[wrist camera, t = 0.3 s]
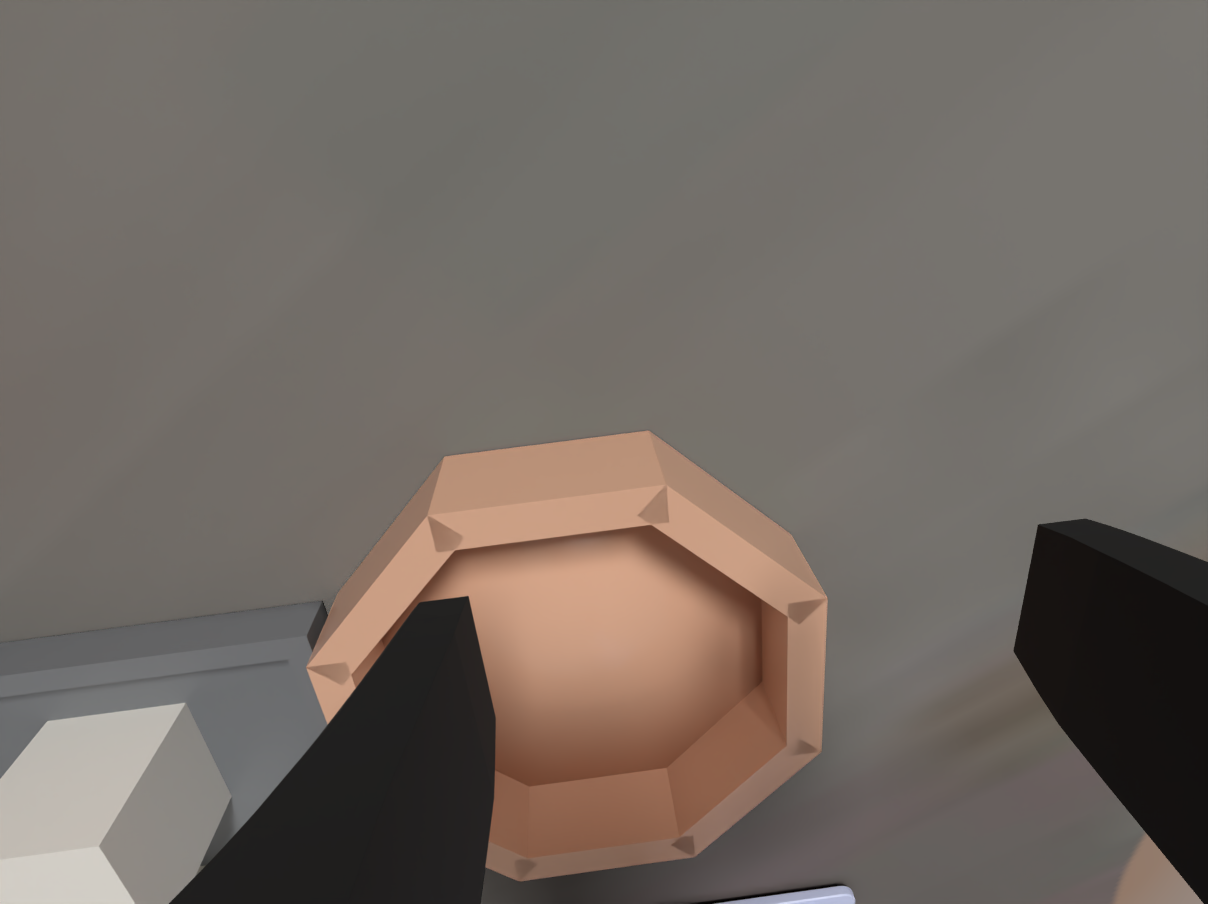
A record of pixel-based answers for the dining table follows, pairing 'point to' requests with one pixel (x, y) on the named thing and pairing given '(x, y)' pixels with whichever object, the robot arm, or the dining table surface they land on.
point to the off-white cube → (109, 809)
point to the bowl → (604, 644)
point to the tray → (182, 690)
